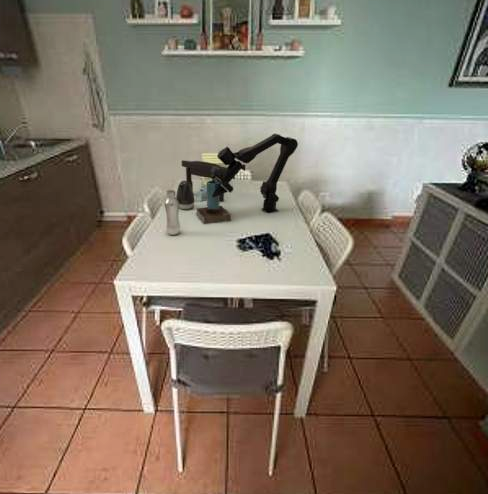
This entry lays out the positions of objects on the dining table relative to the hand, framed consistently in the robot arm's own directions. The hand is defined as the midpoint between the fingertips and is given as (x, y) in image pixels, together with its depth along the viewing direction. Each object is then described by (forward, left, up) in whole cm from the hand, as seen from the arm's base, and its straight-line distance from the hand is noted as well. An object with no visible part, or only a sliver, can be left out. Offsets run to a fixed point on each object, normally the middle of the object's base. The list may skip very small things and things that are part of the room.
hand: (210, 195), depth 163 cm
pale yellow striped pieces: (-33, -51, -12) cm, 62 cm away
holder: (-1, 0, -12) cm, 12 cm away
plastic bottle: (+25, +8, -12) cm, 29 cm away
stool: (-13, -29, -12) cm, 34 cm away
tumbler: (-1, 0, -7) cm, 7 cm away
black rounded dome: (+5, -20, -12) cm, 24 cm away
